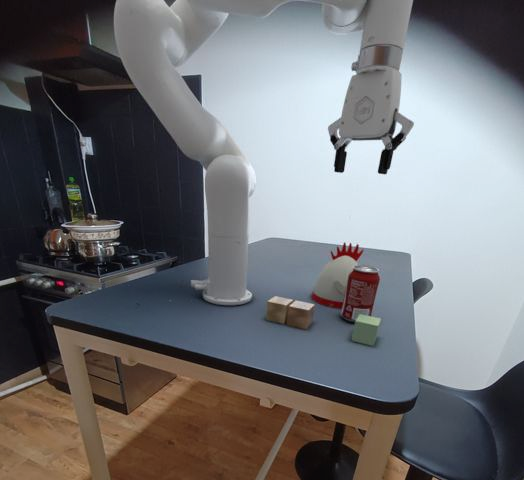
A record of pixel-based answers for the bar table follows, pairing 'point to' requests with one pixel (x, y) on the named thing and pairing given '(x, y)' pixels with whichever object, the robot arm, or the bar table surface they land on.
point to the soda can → (360, 292)
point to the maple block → (278, 309)
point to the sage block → (366, 329)
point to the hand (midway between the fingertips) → (359, 173)
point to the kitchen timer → (335, 277)
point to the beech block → (300, 314)
